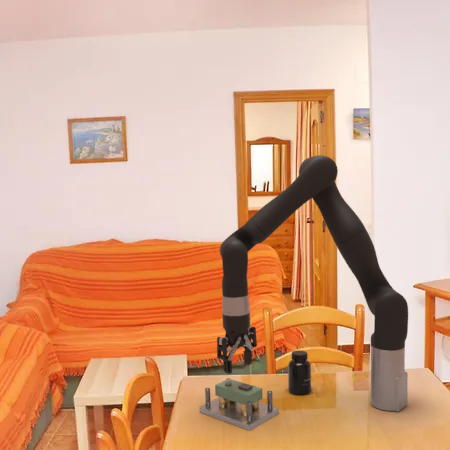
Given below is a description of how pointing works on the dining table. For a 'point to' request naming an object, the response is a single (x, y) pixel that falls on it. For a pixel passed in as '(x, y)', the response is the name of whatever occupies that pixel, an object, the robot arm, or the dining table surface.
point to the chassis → (239, 411)
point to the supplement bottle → (299, 373)
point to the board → (238, 391)
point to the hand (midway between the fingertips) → (238, 368)
